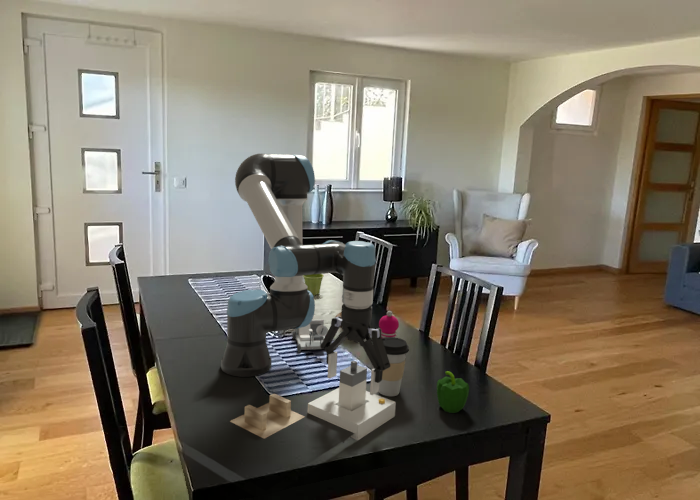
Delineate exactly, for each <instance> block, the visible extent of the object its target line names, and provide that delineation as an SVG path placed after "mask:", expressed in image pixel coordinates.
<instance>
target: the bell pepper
mask: <svg viewBox="0 0 700 500" xmlns="http://www.w3.org/2000/svg"><path fill="white" fill-rule="evenodd" d="M445 375H446V376H444V377H443V378H439V379H438V380H437V382H436V396H437V401H438V405H439V406H440V408H442V410H443V411H444V412H446V413H449V414H456V413H459V412H460V411H461V410H463V409H464V407H465V405H466V403H467V400H468V397H469V393H470V385H469V383H467V382H466V381H465V380H464V379H463V378H461V377H460V378H458V377H457V378H455V375H454V374H453V373H452V372H451V371H450V370H449V371H448V370H447V371H445Z"/></svg>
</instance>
